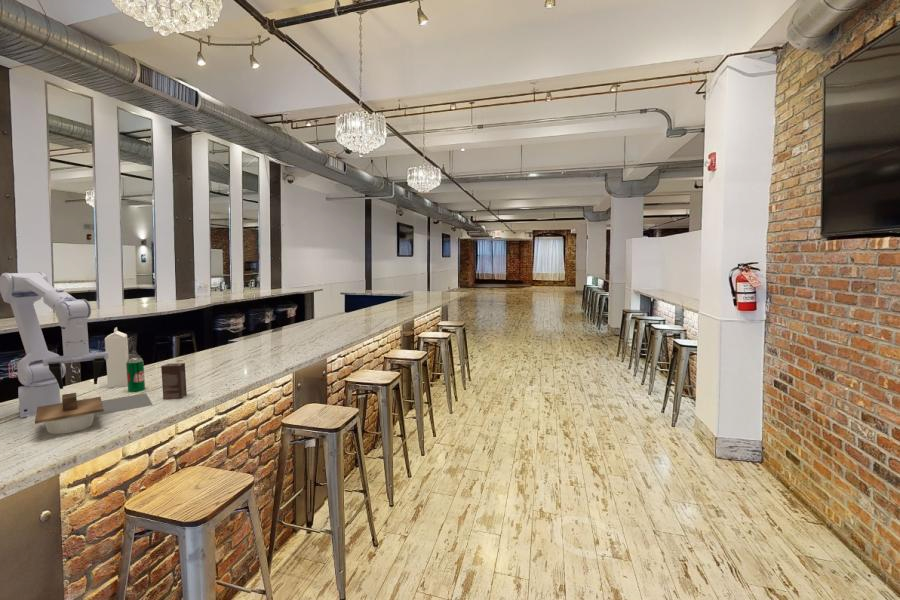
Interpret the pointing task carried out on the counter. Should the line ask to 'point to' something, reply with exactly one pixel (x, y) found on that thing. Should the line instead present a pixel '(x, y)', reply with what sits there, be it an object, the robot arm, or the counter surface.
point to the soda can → (135, 374)
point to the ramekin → (69, 424)
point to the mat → (124, 403)
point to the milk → (116, 358)
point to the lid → (68, 408)
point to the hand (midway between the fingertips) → (78, 385)
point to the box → (174, 381)
